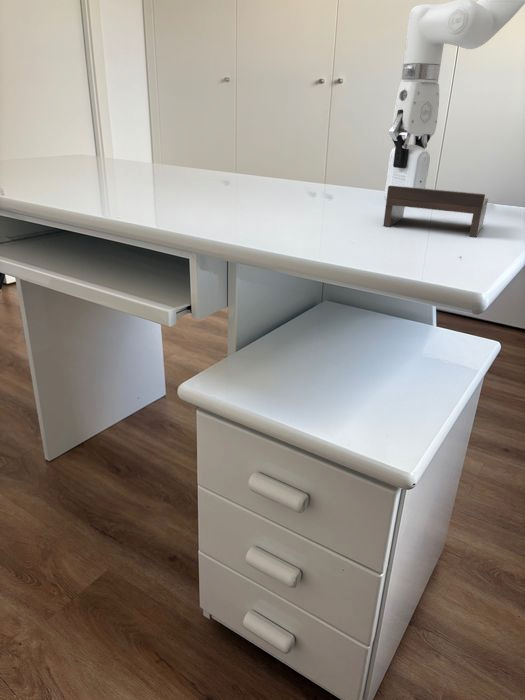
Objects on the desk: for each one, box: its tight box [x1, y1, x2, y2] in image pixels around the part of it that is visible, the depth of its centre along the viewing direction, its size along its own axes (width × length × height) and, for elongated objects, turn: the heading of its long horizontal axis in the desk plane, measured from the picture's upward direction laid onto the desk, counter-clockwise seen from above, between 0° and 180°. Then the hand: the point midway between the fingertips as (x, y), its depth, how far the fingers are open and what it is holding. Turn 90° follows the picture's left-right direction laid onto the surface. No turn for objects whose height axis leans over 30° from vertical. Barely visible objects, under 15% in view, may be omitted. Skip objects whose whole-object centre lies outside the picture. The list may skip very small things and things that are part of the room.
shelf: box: [382, 186, 489, 238], centre depth 97 cm, size 11×16×7 cm
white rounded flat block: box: [384, 143, 431, 200], centre depth 119 cm, size 10×4×12 cm, turn 27°
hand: (407, 166), depth 119 cm, fingers closed on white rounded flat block, 4 cm apart
